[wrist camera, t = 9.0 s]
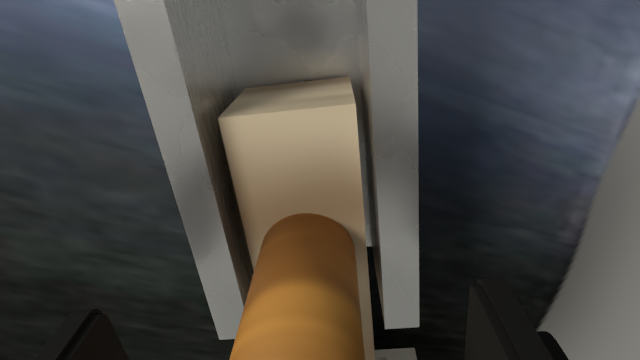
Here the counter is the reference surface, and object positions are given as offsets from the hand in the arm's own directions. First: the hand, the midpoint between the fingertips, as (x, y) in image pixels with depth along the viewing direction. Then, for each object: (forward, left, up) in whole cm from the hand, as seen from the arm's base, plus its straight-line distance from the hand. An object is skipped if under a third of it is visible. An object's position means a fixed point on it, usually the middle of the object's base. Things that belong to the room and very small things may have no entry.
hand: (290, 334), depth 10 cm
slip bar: (+5, 0, -8) cm, 9 cm away
